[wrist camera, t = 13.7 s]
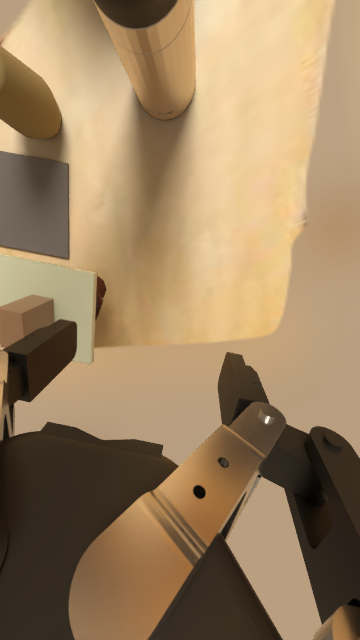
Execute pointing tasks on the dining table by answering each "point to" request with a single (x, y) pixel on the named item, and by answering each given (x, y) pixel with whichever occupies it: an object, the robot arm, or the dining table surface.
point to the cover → (46, 301)
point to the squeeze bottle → (26, 100)
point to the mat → (34, 204)
